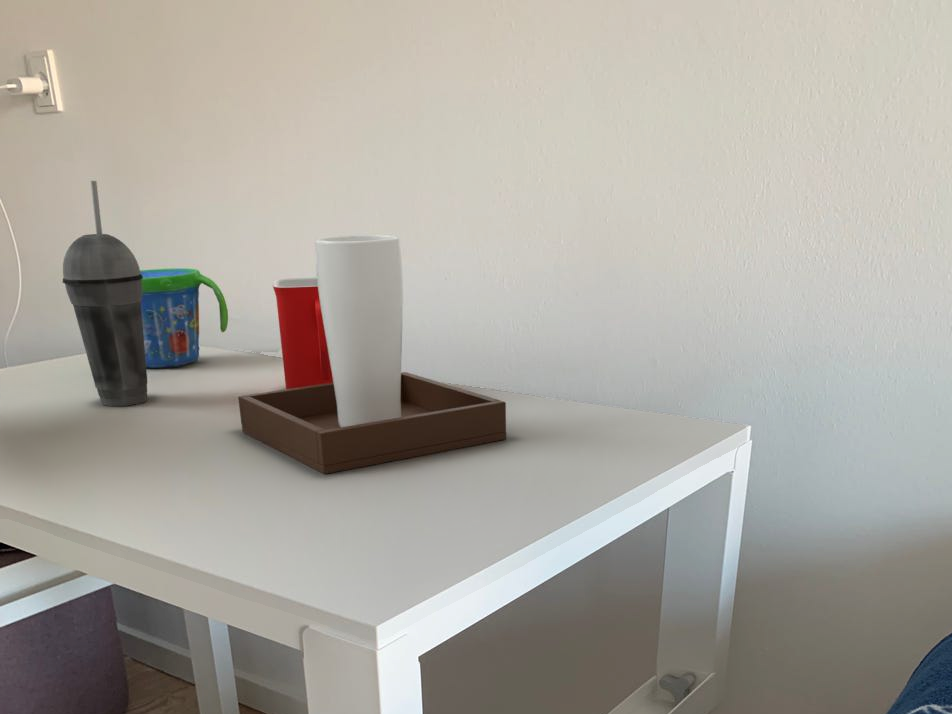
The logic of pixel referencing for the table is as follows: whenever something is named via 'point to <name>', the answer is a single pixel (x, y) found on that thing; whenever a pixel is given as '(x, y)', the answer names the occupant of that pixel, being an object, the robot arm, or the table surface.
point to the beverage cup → (108, 312)
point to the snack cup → (174, 315)
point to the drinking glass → (362, 323)
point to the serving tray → (371, 424)
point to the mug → (302, 333)
